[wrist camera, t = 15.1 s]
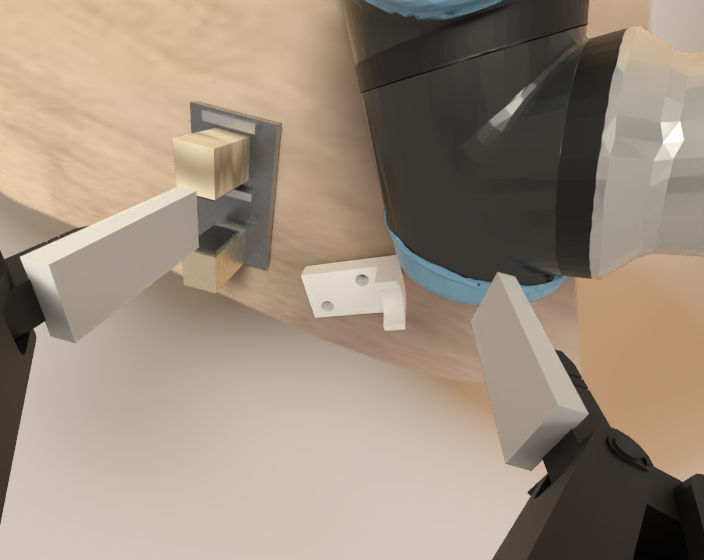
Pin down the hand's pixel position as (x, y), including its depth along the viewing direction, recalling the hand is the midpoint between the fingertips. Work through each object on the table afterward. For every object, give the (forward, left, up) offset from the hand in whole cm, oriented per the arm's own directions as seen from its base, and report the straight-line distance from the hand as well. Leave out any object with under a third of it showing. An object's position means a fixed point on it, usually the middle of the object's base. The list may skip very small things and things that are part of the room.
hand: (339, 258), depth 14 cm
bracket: (+18, +1, -27) cm, 32 cm away
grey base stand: (+9, -17, -27) cm, 33 cm away
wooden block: (+4, -17, -25) cm, 31 cm away
